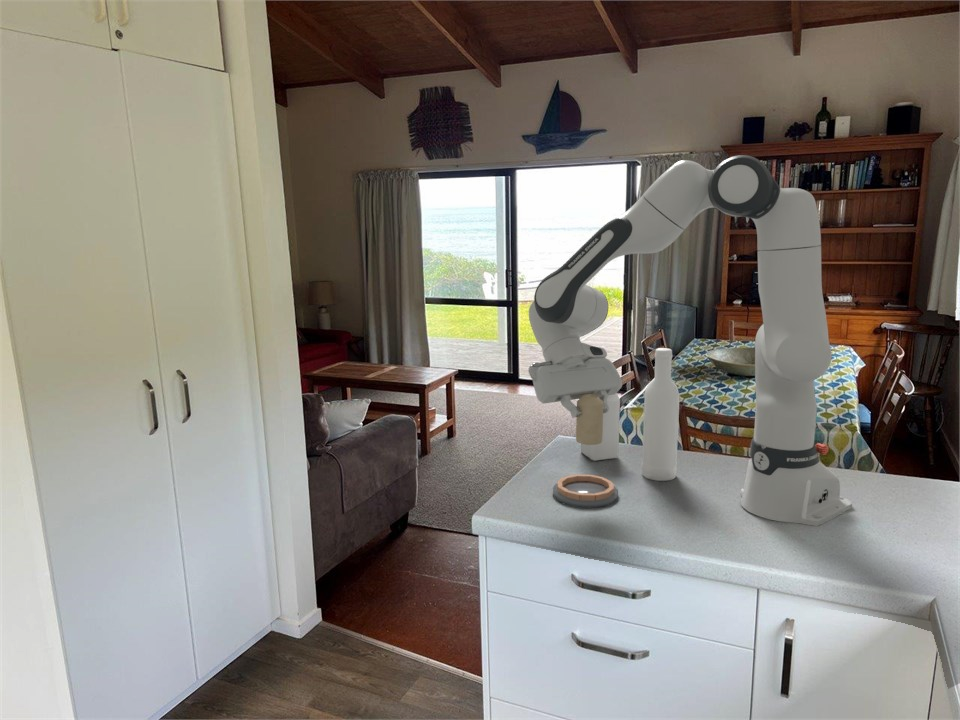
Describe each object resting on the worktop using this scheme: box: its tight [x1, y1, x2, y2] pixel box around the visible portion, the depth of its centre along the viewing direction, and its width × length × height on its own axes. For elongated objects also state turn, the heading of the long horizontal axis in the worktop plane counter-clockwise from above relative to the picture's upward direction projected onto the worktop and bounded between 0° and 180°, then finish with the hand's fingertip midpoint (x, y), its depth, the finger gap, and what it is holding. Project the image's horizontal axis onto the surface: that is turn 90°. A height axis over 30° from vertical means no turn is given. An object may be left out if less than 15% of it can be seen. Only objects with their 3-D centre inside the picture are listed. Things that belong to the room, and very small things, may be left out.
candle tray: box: [552, 474, 619, 509], centre depth 144 cm, size 14×14×2 cm
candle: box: [575, 394, 604, 445], centre depth 140 cm, size 6×6×10 cm
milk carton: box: [580, 392, 621, 461], centre depth 168 cm, size 7×7×19 cm
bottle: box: [641, 347, 680, 482], centre depth 153 cm, size 8×8×30 cm
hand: (591, 414), depth 139 cm, fingers closed on candle, 5 cm apart
